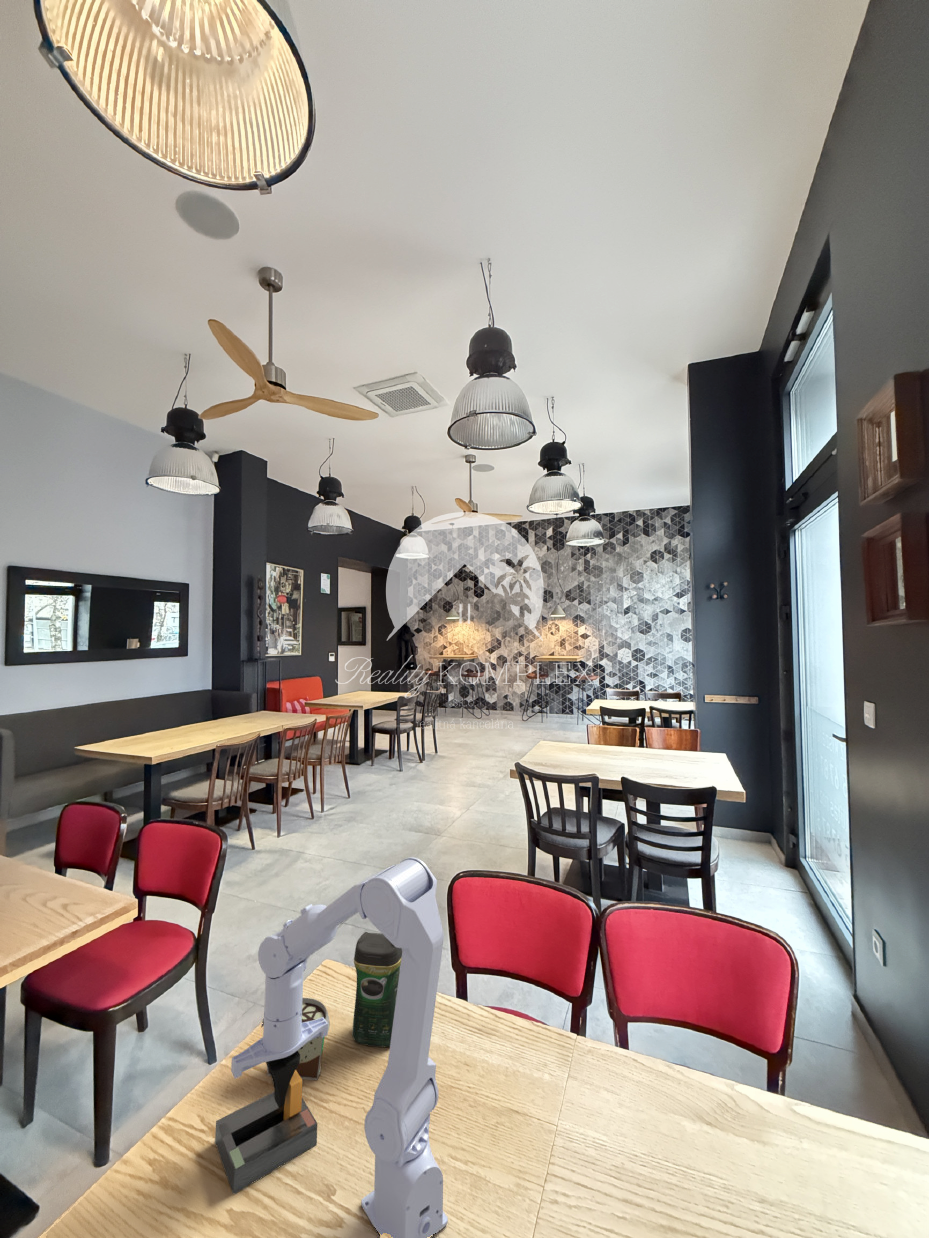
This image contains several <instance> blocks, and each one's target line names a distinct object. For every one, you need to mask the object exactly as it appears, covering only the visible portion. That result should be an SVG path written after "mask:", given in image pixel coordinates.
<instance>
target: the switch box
mask: <svg viewBox="0 0 929 1238" xmlns="http://www.w3.org/2000/svg"><path fill="white" fill-rule="evenodd" d="M283 1120H284V1106H282V1107H280V1108H279V1107H278V1105H277V1103H276V1101H275V1098H274V1091H272V1092H270V1093H268V1094H266V1095H264V1096H263V1097H261V1098H259V1099H257V1100H254V1101H253V1102H251V1103H248V1104H246V1105H245V1106H242V1107H241V1108H239V1109H237V1110H235V1111H233V1112H231V1113H229V1114H227V1115H225V1116H222V1117H221V1118H219V1119H217V1120H216V1121H215V1133H214V1134H215V1136H214V1143H215V1147H216V1149H217V1152H218V1155H219V1158H220V1160H221V1164H222V1165H223V1169H224V1171H225V1175H226V1177H227V1180H228V1183H229V1186H230V1188H231V1192H232V1194H233V1195H235V1194H238V1193H239V1192H240V1191H242V1190H244V1189H246V1188H247V1187H249V1186H250V1185H249V1184H251V1183H252V1182H254V1181H256V1180H257V1181H259V1180H261V1179H262V1178H264V1177H265V1176H267V1175H269V1174H271V1173H272V1172H274V1171H275V1170H277V1169H279V1168H280V1167H282V1166H283V1165H285V1164H287V1163H289V1162H290V1161H292V1160H293V1159H295V1158H297V1157H298V1156H300V1155H302V1154H304V1153H305V1152H307V1151H309V1150H310V1149H311V1148H313V1147H316V1145H318V1144H317V1143H318V1121H317V1120H316V1119H315V1117H314V1115H313V1113H312V1111H311V1110H310V1108H309V1106H308V1105H307V1104H306V1101H305V1100H304V1098H303V1097H302V1108H301V1111H300V1112H299V1113H297V1114H295V1115H294V1116H292V1117H290V1118H288V1119H286V1120H284V1121H283ZM284 1163H285V1164H284ZM281 1165H282V1166H281ZM279 1166H280V1167H279ZM278 1167H279V1168H278ZM273 1170H274V1171H273ZM268 1173H269V1174H268ZM266 1174H267V1175H266ZM264 1175H265V1176H264ZM263 1176H264V1177H263ZM261 1177H262V1178H261ZM260 1178H261V1179H260ZM258 1179H259V1180H258ZM257 1181H256V1182H257ZM254 1183H255V1182H254ZM252 1184H253V1183H252ZM252 1184H251V1185H252ZM248 1185H249V1186H248Z"/></svg>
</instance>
